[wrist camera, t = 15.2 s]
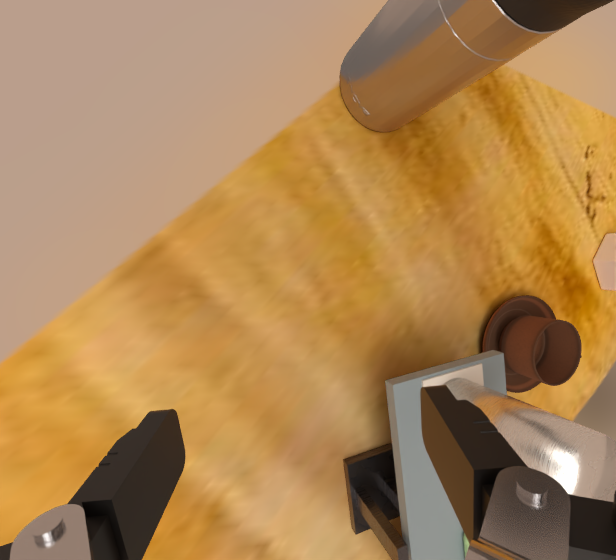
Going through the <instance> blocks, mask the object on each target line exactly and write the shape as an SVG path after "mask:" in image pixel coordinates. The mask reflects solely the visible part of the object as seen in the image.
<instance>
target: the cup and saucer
mask: <svg viewBox="0 0 616 560" xmlns="http://www.w3.org/2000/svg"><path fill="white" fill-rule="evenodd" d="M491 350H495V351H498V352H502V353H504V364H505V378H506V390H507V391H510V392H515V393H520V392H525V391H528V390H531V389H532V388H534V387H536V386H537V385H538V384H540V383H541V382H542V383H545V384H548V385H551V386H557V385H560V384H563V383H565V382H566V381H567V380H569V379H570V378H571V376H572V375H573V374H574V372H575V371H576V369H577V367H578V364H579V361H580V358H581V357H582V356H581V340H580V336H579V334H578V331H577V330H576V328H575V327H574V326H573V325H572V324H571V323H569V322H567V321H563V320H556V318H555V315H554V313H553V311H552V310H551V308H550V307H549V306H548V305H547V304H546V303H545V302H544V301H543V300H541V299H539V298H537V297H534V296H518V297H514V298H512V299H510V300H508V301H506V302H505V303H503V304H502V305H501V306H500V307H499V308H498V309H497V310H496V311H495V313H494V314H493V316H492V317H491V319H490V321H489V323H488V325H487V327H486V330H485V334H484V338H483V353H484V352H487V351H491Z"/></svg>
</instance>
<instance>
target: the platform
mask: <svg viewBox="0 0 616 560" xmlns="http://www.w3.org/2000/svg"><path fill="white" fill-rule="evenodd" d="M454 378H465V379H468V380H470V381H473V382H475V383H478V384H480V385H482V386H485V387H487V388H490V389H492V390H495V391H497V392H500V393H502V394H505V395H507V391H506V378H505V364H504V353H502V352H498V351H495V350H491V351H487V352H484V353H480V354H477V355H473V356H470V357H466V358H463V359H459V360H456V361H452V362H449V363H445V364H441V365H438V366H434V367H431V368H427V369H424V370H420V371H417V372H413V373H410V374H406V375H402V376H399V377H395V378H392V379H388V380H385V384H386V393H387V402H388V411H389V420H390V429H391V438H392V447H393V456H394V465H395V474H396V483H397V492H398V501H399V511H400V520H401V529H402V538H403V540H404V541H405V542H406V544H407V547H408V556H409V560H465V557H466V554H467V550H468V547H469V545H470V544H469V542H468V540H467V537H466V535H465V533H464V531H463V529H462V527H461V525H460V522H459V520H458V518H457V516H456V514H455V512H454V509H453V507H452V505H451V503H450V501H449V499H448V496H447V494H446V492H445V490H444V488H443V486H442V483H441V481H440V479H439V477H438V475H437V473H436V471H435V468H434V466H433V464H432V462H431V460H430V458H429V455H428V453H427V451H426V448H425V445H424V442H423V437H422V429H421V400H420V390H421V387H427V386H438V385H444V384H445V383H446V382H447V381H449V380H451V379H454Z"/></svg>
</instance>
